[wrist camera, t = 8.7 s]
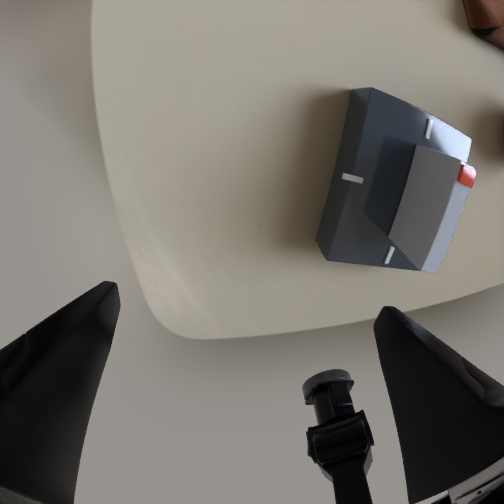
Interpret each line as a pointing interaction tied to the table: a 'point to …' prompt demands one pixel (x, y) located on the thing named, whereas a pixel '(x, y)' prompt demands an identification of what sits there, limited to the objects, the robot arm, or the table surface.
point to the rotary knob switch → (378, 176)
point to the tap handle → (431, 207)
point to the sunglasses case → (486, 19)
